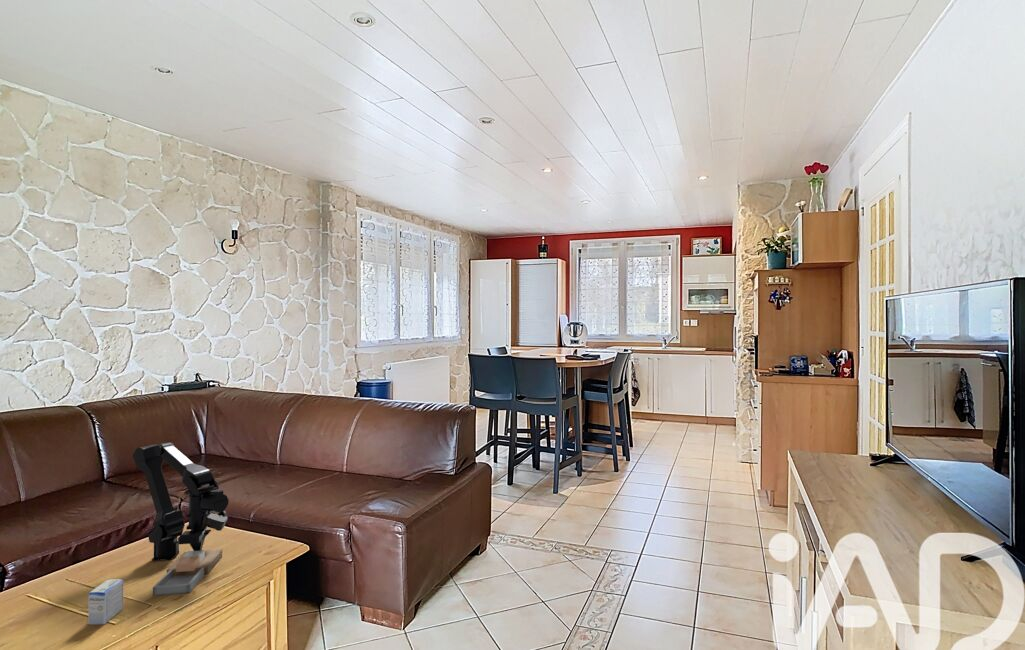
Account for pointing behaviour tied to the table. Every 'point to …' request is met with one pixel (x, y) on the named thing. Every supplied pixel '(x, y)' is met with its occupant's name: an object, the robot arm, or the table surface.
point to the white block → (196, 554)
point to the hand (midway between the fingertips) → (198, 554)
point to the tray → (177, 583)
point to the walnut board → (207, 563)
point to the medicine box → (105, 601)
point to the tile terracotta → (187, 564)
